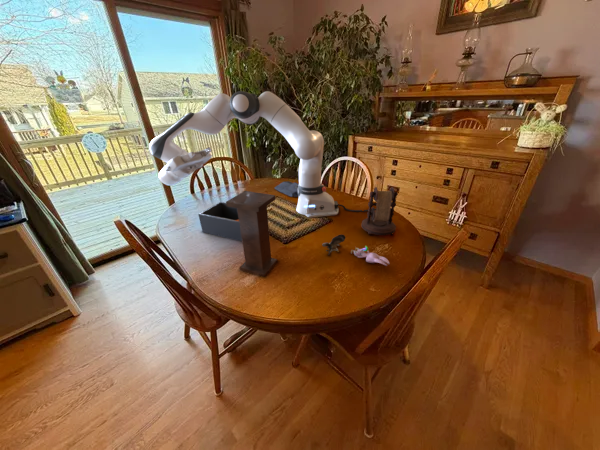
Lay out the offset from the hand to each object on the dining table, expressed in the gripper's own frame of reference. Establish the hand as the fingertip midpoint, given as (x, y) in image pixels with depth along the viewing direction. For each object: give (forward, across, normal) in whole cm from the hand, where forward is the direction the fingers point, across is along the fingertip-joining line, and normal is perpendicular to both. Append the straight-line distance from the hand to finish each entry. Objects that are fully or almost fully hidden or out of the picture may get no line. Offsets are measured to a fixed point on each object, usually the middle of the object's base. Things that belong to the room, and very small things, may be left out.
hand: (201, 151), depth 96 cm
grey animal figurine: (+33, 0, +58) cm, 67 cm away
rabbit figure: (+45, -2, +65) cm, 79 cm away
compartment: (-9, 0, +34) cm, 35 cm away
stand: (+13, -19, +47) cm, 52 cm away
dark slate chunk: (-5, +56, +37) cm, 67 cm away
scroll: (+45, +24, +65) cm, 82 cm away
